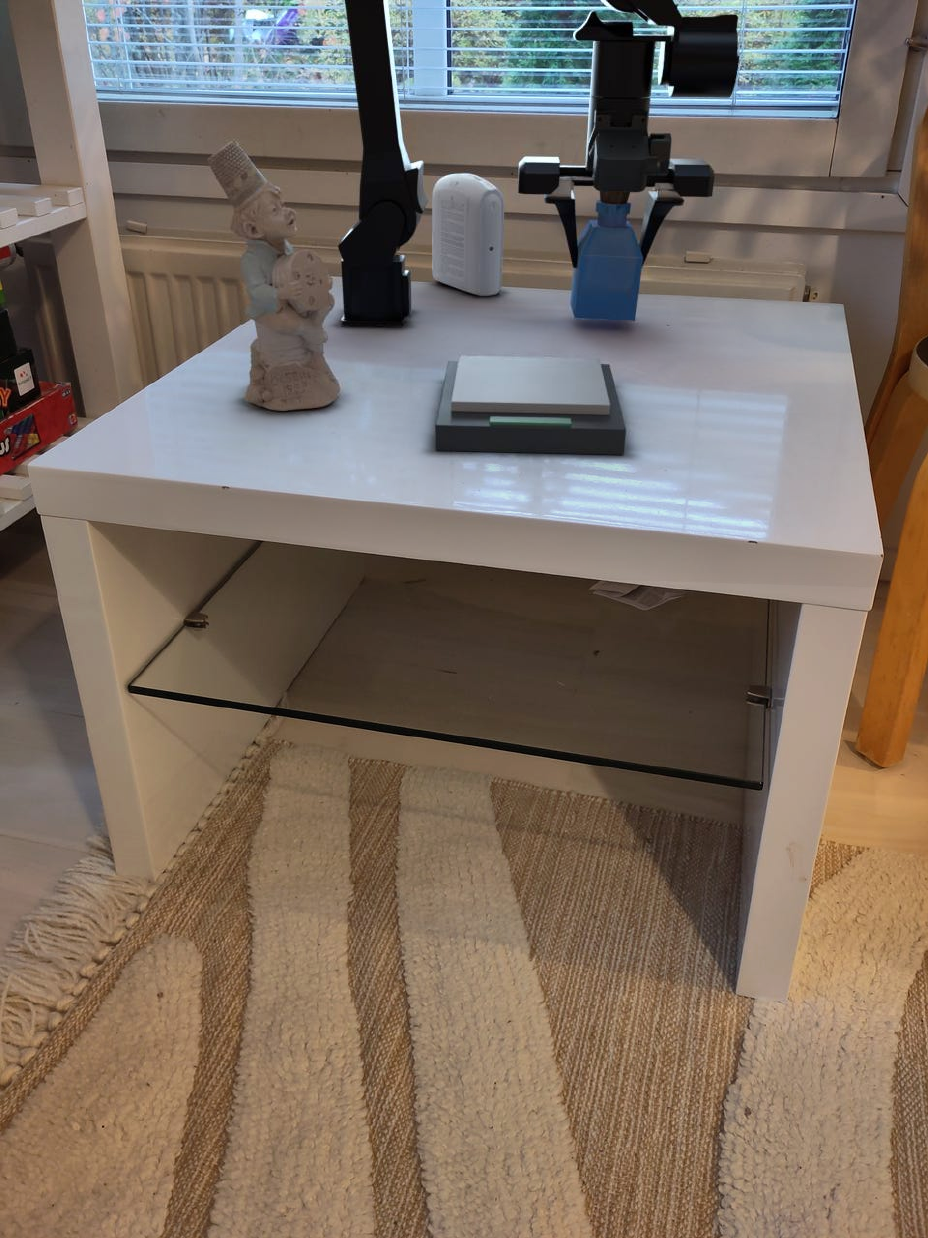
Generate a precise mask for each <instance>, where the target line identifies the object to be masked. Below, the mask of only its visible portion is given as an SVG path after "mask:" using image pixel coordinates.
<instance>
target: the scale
mask: <svg viewBox="0 0 928 1238" xmlns="http://www.w3.org/2000/svg"><path fill="white" fill-rule="evenodd" d="M445 370H446V371H445V375H444V381H443V386H442V391H441V394H440V395H441V396H440V400H439V405H438V410H437V416H436V420H435V425H434V430H435V431H434V432H435V433H434V436H435V438H434V439H435V441H434V442H435V444H434V445H435V447H434V448H435V450H434V451H440V452H441V451H443V452H444V451H445V452H446V451H447V452H483V453H484V452H487V453H529V454H530V453H531V454H572V455H575V454H576V455H613V456H615V455H616V456H617V455H618V456H624V454H625V445H626V437H627V436H626V435H627V428H626V424H625V421H624V416H623V413H622V409H621V404H620V401H619V397H618V393H617V389H616V385H615V382H614V381H615V380H614V377H613V372H612V369H611V365H610V364H608V363H601V359H600V358H599V357H564V356H563V357H561V356H560V357H555V356H510V355H509V356H506V355H504V356H503V355H463V354H462V355H458V360H448V361H447V366H446V369H445Z"/></svg>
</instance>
